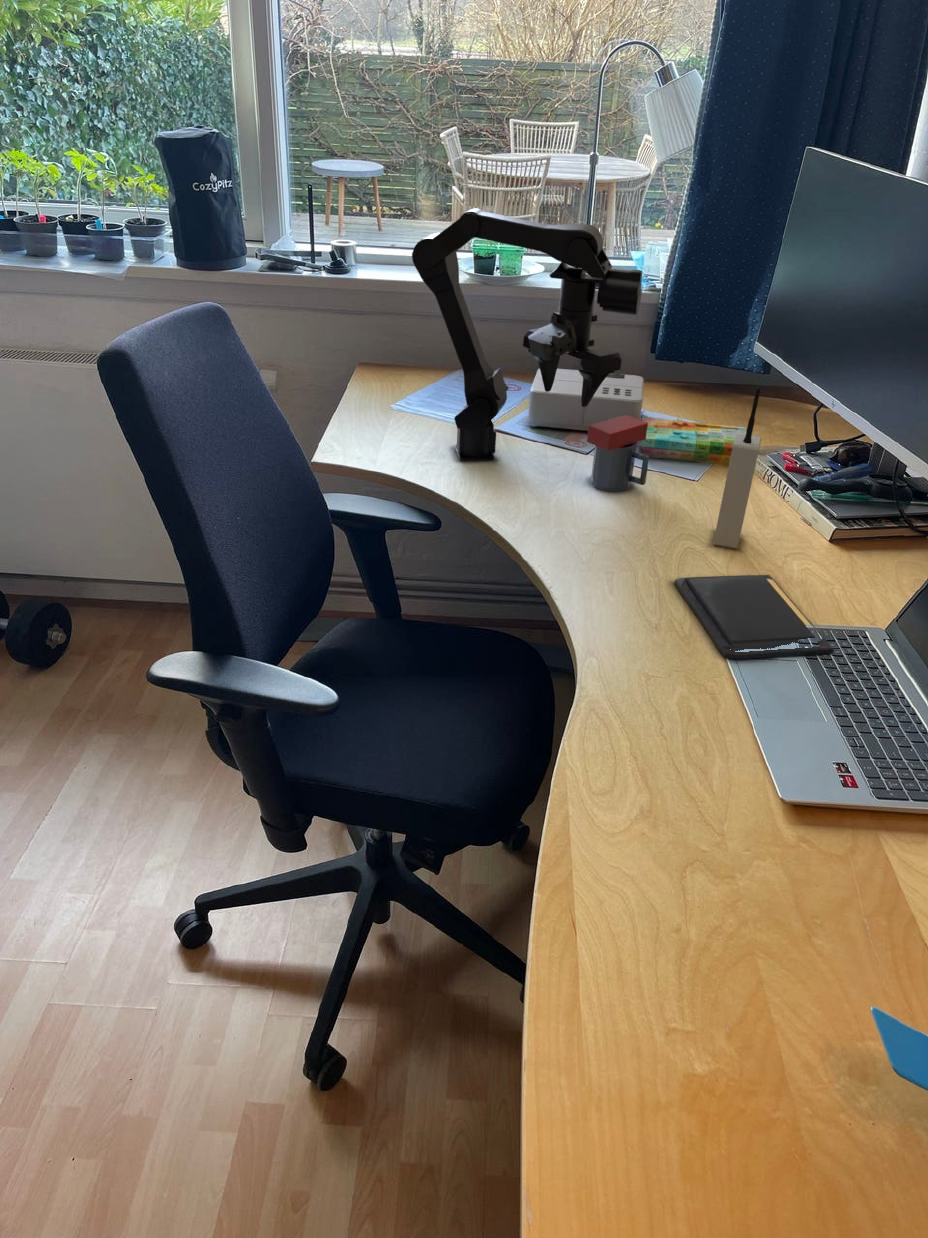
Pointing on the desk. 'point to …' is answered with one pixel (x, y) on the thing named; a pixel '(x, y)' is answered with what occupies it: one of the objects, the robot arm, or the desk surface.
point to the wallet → (748, 615)
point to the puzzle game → (689, 440)
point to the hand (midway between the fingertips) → (565, 398)
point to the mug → (617, 468)
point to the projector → (565, 400)
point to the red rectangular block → (617, 432)
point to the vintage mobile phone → (738, 484)
